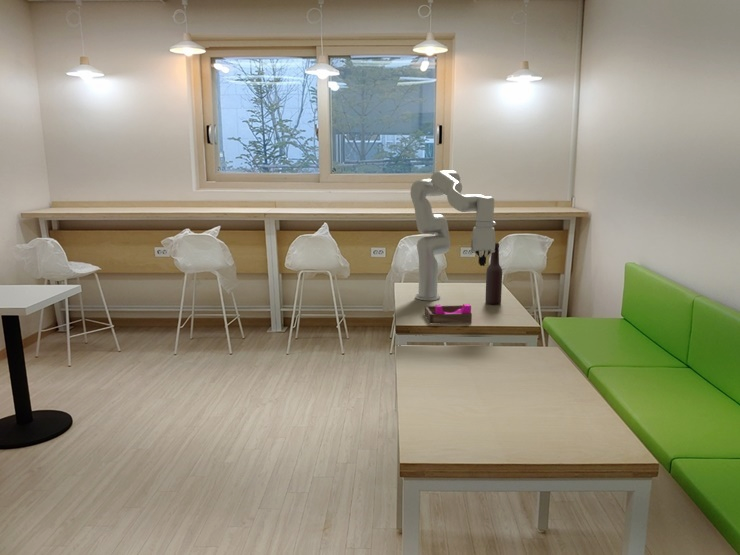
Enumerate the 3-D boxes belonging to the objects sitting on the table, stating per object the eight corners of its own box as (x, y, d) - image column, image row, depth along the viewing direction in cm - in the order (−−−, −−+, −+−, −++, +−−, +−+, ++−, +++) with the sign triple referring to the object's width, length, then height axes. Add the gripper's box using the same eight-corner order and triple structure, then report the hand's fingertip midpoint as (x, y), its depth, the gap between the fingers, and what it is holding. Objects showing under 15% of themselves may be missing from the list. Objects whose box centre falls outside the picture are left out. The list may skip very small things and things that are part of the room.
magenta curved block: (467, 318, 263) (467, 302, 262) (470, 322, 257) (471, 305, 256) (434, 319, 262) (434, 303, 260) (436, 323, 256) (437, 306, 254)
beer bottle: (495, 300, 293) (498, 241, 287) (503, 304, 286) (506, 243, 280) (482, 302, 291) (484, 242, 285) (490, 305, 284) (492, 244, 278)
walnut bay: (424, 314, 269) (424, 306, 268) (463, 313, 270) (463, 305, 269) (430, 323, 255) (430, 314, 254) (471, 322, 256) (471, 313, 255)
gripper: (498, 223, 262) (496, 263, 267) (465, 223, 261) (463, 263, 266) (503, 225, 255) (500, 267, 259) (469, 225, 254) (467, 267, 258)
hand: (482, 265), depth 263 cm, fingers closed
